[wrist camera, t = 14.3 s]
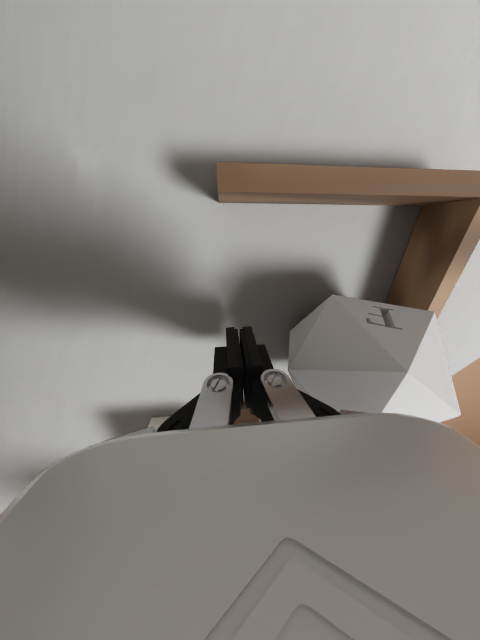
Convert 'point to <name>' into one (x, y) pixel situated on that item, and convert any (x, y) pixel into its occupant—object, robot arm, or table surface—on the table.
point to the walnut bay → (379, 189)
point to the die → (373, 359)
